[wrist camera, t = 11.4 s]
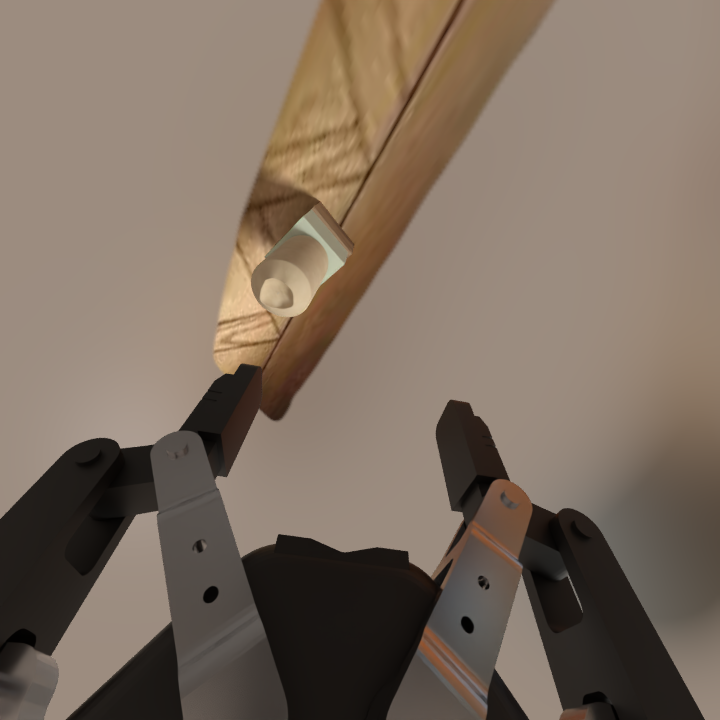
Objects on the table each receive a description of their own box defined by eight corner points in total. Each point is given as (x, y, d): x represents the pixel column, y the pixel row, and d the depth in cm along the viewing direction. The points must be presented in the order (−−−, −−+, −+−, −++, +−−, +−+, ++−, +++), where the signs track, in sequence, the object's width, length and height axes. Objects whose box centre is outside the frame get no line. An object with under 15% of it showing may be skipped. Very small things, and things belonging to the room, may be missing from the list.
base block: (320, 201, 39) (313, 206, 35) (354, 244, 42) (351, 253, 37) (284, 236, 41) (274, 245, 37) (319, 274, 44) (313, 286, 40)
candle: (291, 287, 35) (260, 328, 27) (273, 240, 32) (232, 271, 24) (334, 278, 34) (315, 319, 26) (320, 229, 31) (293, 258, 23)
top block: (311, 209, 35) (303, 216, 31) (348, 252, 37) (344, 264, 33) (276, 245, 37) (264, 256, 33) (313, 283, 40) (305, 298, 36)
